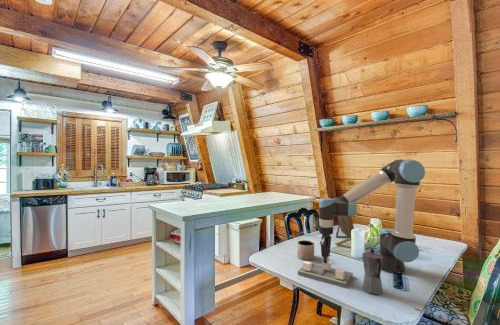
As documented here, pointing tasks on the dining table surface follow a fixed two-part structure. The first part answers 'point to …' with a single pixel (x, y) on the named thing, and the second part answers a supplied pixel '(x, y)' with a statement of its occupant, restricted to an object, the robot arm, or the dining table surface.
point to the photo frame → (345, 225)
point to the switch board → (326, 275)
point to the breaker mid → (329, 267)
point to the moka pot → (372, 272)
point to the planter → (305, 250)
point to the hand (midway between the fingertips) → (325, 268)
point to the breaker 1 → (307, 266)
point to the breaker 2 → (339, 274)
